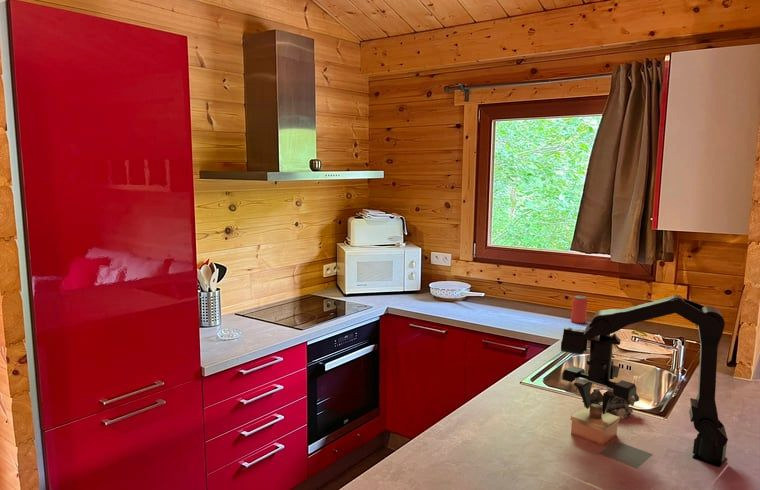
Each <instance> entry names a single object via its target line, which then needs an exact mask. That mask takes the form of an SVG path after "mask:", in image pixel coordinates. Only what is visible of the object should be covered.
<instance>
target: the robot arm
mask: <svg viewBox="0 0 760 490" xmlns="http://www.w3.org/2000/svg"><path fill="white" fill-rule="evenodd" d="M721 312H722V311H720V310H719V308H717V307H715V306H712V305H711V306H710V305H708V306H707V305H705V306H704V305H702V304H700V303H697V302H695V301H693V300H689V299H686V298H684V297H682V296H681V295H678V294H673V295H671V296H669V297H664V298H661V299H658V300H653V301H650V302H646V303H642V304H638V305H636V306H630V307H628V308H627V307H626V308H610V309H609V308H608V309H601V310H598V311H596V312H595V313H594V315H593V317H592V320H591V322H590V323H589V324H588V325H587V326H586V327H585V329H584V330H583V329H577V328H571V327H567V326H566V327H564V328H563V332H562V333H563V334H562V338H561V339H562V340H561V341H560V342H561V343H560V352H562V353H567V354H568V353H569V354H575V355H581V356H583V354H584V353H585V352H588V347H589V354H588V355H589V356H588V359H587V360H586V365H587V367H588V369H587V373H586V370H585V369H584V368H581V367H578V366H575V365H572V366H569V367H567V368H565V369H564V370H563V371H562V374H561V379H562V380H563V381H566V382H569V383H572V382H574V381H575V382H574V383H573V386H574V387H576V389H577V390H578V392H579V395H580V396H581V399H582V401H584V403H583V405H584V404H585V406H586V409H588V408H589V406H590V394H591V390H592V385H598V386H601V387H602V388H603V387H604V388H605V389H607V390H605V392H603V393H602V395H603V404H602V405H603V406H602V413H603V414H605V413H606V412H607V410H608V408H609V406H610V404H611V402H612V400H613V398H615V397H620V398H624V399H629V398H631V397H632V396H633V395H635V394H636V393H637V389H638V388H637V386H636V384H635V383H634V382H630V381H627V380H622V379H621V380H619V381H618V382H614V381H611V380H613V379H615V378H618V377H619V372H620V368H621V367H620V366H618V365H614V360H613V359H612V358H613V349H614V348H613V347H614V345H616V346H620V345H621V341H622V340H621V338H619V337H618V336H617V334H616V332H619V331H620V330H622V329H623V328H625V327H627V326H628V327H629V326H630V325H633V324H637V323H641V322H645V321H649V320H653V319H657V318H660V317H665V316H669V315H672V314H676V315H678V316H679V317H680V316H681V317H682V318H683V319H685V320H687V321H689V322H691V323H692V324H695V325H696V326H697V330H698V336H699V341H700V344H699V347H700V348H699V367H698V369H699V370H698V385H697V386H698V389H697V395H696V397H695V398H693V397H689V402H690V409H689V410H688V413H689V419H690V422H691V423H693V427H694V429H695V430H696V431H697V435H696V437H695V438H694V439H693V440H694V441H693V449H692V454H693V455H692V459H693V460H697V461H699V462H702V463H706V464H707V465H711V466H713V467H716V468H721V467H722V466H723V465H724V463H725V462H727V460H728V458H727V456H726V453H727V446H728V441H729V437H728V435H727V431H726V428H725V425H724V424H723V423H722V422H721V420H720V419H719V414H718V409H717V403H716V387H717V385H716V383H717V367H718V366H717V365H718V347H719V344H720V341H721V339H722V337H723V333H724V329H725V325H726V323H725V319H724V317H723V315H722V313H721ZM611 334H612V335H611ZM589 342H590V343H589ZM585 406H584V407H585Z"/></svg>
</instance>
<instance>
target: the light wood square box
mask: <svg viewBox="0 0 760 490" xmlns="http://www.w3.org/2000/svg"><path fill="white" fill-rule="evenodd" d="M618 423H619V422H618ZM618 423H616V424H615V425H614V426H612V427H611V428H609V429H608V430H607V431H605V432H602V431H599V430H596V429H594V428H591V427H588V426H585V425H583V424H580V423H577V422H574V421H572V420H571V427H570V428H571V430H570V435H572V436H575V437H577V438H581V439H584V440H586V441H588V442H591V443H593V444H595V445H599V446H601V447H602V446H604V445H605V444H607V443H608V442H610V440H612V439H613V438H615V437H616V436H617V435H618V434H617V433H618Z"/></svg>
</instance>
